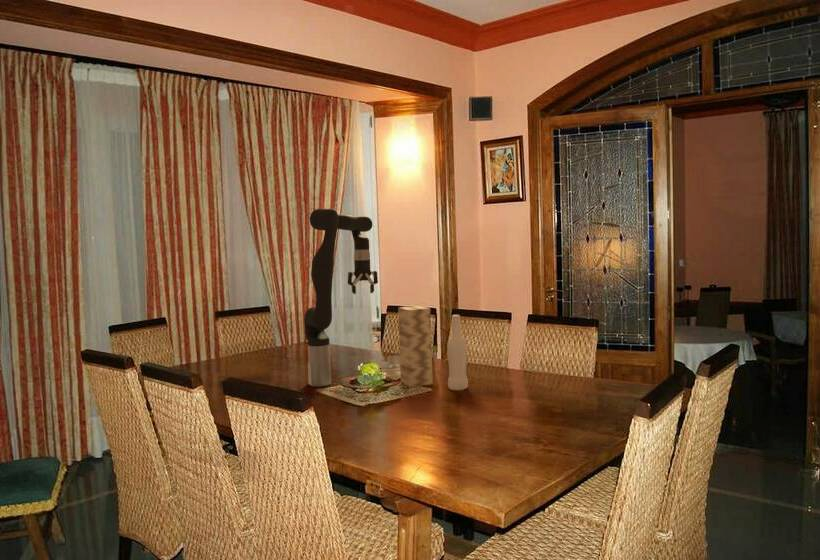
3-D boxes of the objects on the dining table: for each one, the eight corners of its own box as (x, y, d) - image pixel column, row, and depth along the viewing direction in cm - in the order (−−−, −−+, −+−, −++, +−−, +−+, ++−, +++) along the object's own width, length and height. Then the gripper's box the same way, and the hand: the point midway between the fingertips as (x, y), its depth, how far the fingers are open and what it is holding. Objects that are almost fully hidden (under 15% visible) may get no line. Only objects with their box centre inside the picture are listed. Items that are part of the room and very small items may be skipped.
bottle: (461, 391, 256) (458, 316, 254) (444, 389, 261) (441, 315, 259) (471, 387, 262) (469, 314, 260) (455, 385, 267) (453, 313, 265)
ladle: (391, 368, 285) (389, 356, 285) (375, 369, 304) (374, 357, 305) (403, 367, 287) (402, 354, 288) (387, 367, 306) (386, 356, 307)
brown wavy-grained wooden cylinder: (410, 386, 267) (407, 310, 264) (400, 381, 277) (398, 307, 275) (432, 384, 270) (430, 308, 268) (422, 378, 281) (419, 305, 278)
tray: (387, 381, 278) (387, 375, 278) (376, 375, 291) (376, 369, 290) (417, 377, 283) (417, 372, 283) (405, 371, 296) (405, 366, 296)
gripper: (350, 259, 298) (351, 294, 299) (379, 258, 304) (380, 293, 305) (345, 259, 305) (346, 293, 306) (373, 258, 310) (374, 292, 312)
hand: (363, 293), depth 305 cm, fingers open, 8 cm apart
